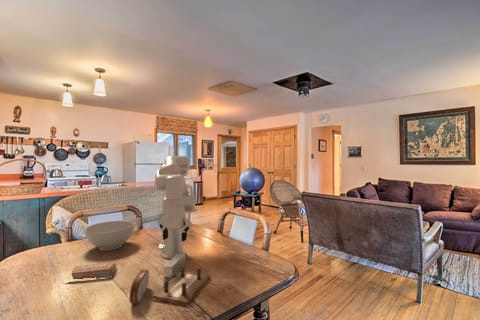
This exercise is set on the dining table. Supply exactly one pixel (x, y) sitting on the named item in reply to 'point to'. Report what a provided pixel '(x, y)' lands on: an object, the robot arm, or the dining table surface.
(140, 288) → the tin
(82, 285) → the dining table surface
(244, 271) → the dining table surface
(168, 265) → the steel bar
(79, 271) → the packaged product
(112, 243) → the decorative bowl
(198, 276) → the peg stand
